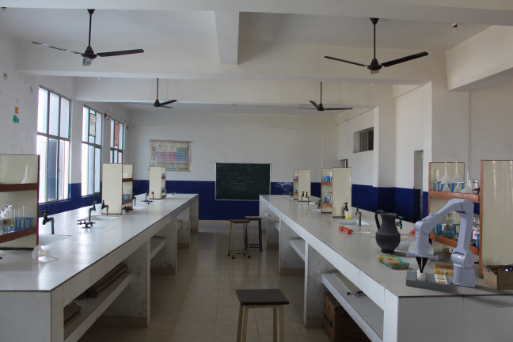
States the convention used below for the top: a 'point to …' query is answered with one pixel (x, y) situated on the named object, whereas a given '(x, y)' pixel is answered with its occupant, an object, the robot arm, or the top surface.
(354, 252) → the top surface
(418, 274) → the button
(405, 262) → the puzzle game
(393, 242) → the pitcher
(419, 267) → the robot arm
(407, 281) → the board
